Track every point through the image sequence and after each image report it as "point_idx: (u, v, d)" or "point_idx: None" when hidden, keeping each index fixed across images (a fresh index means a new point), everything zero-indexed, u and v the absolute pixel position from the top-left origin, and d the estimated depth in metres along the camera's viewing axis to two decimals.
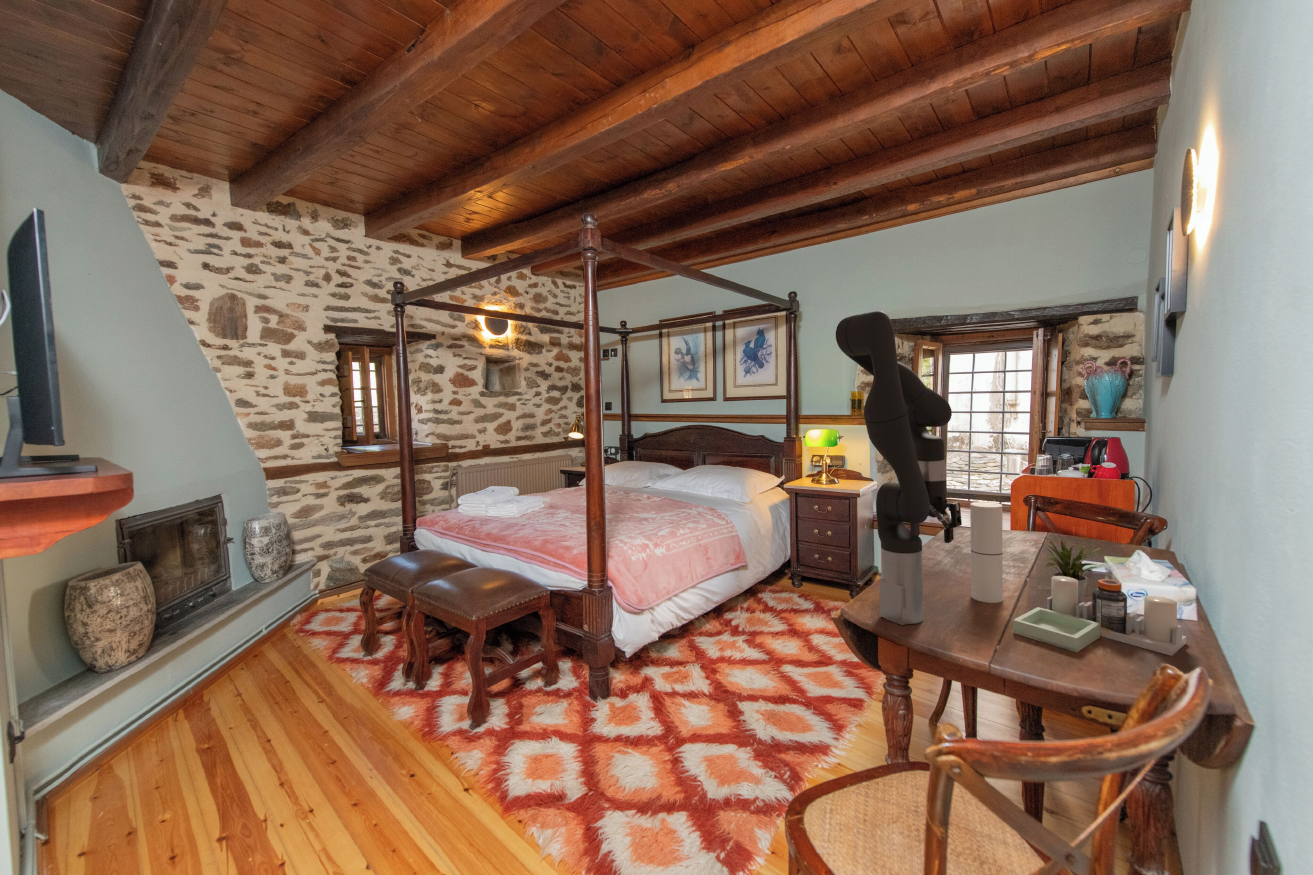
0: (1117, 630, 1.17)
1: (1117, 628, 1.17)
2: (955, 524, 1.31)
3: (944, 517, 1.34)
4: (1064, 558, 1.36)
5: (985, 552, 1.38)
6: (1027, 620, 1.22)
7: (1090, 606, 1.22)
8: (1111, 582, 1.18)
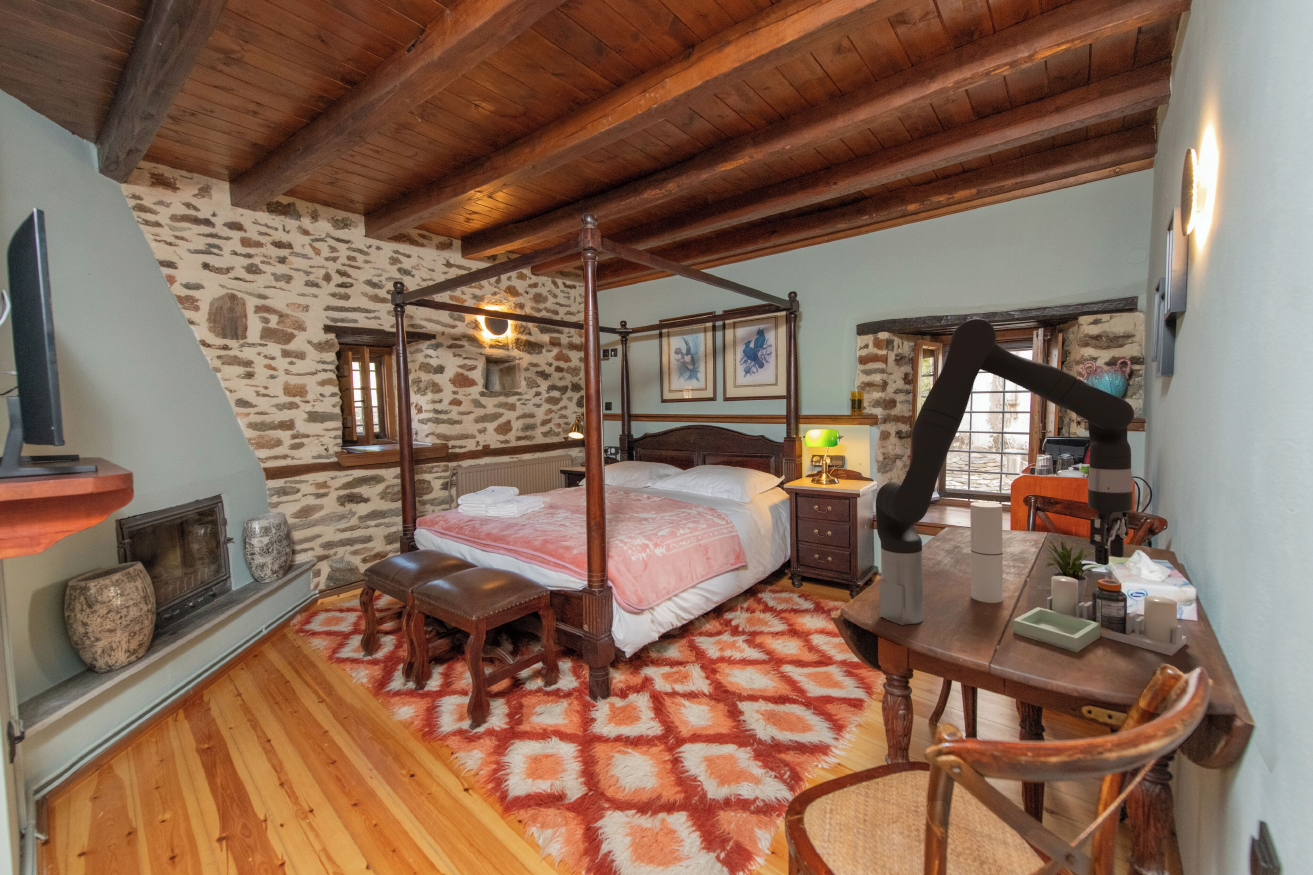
0: (1117, 630, 1.17)
1: (1117, 628, 1.17)
2: (1128, 532, 1.21)
3: None
4: (1064, 558, 1.36)
5: (985, 552, 1.38)
6: (1027, 620, 1.22)
7: (1090, 606, 1.22)
8: (1111, 582, 1.18)
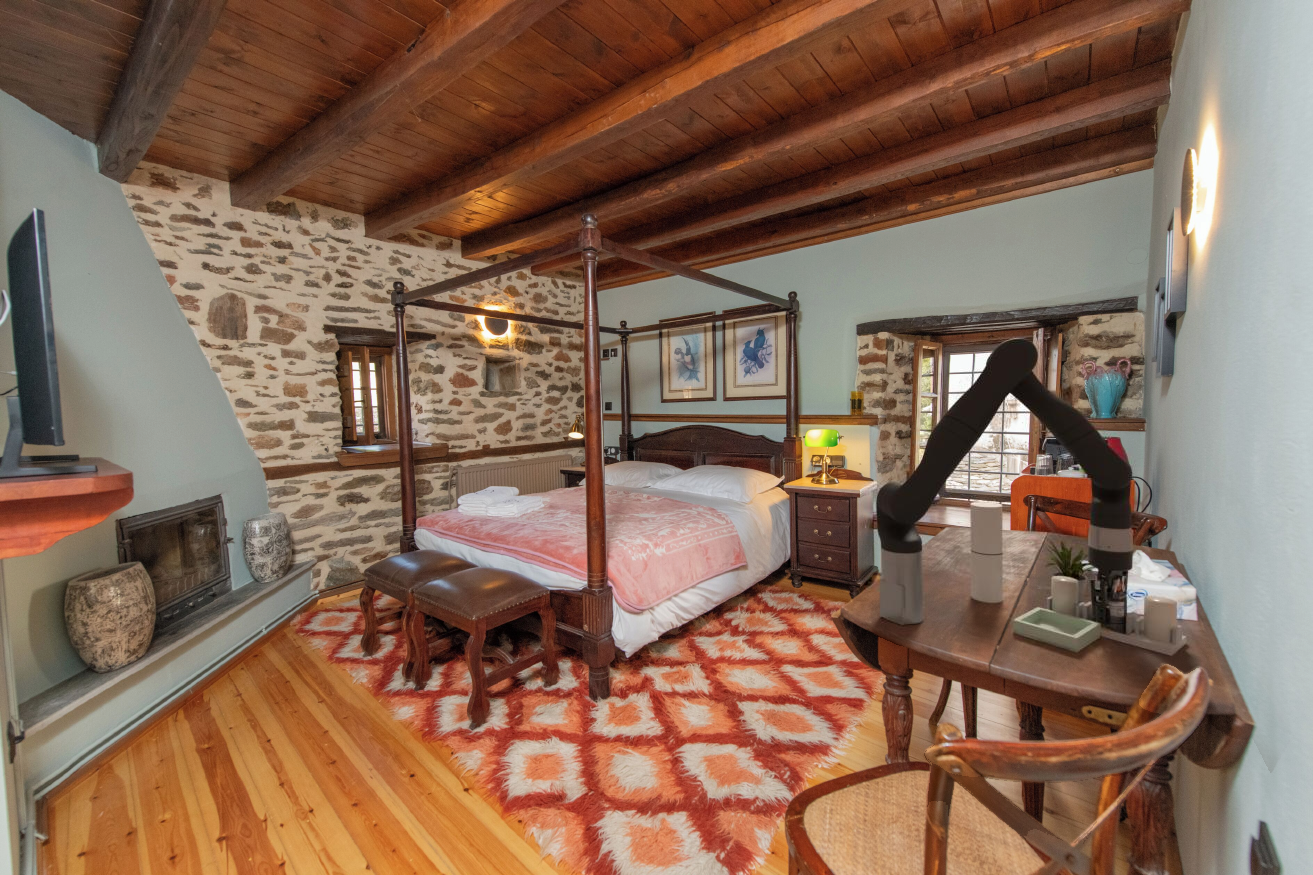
0: (1117, 630, 1.17)
1: (1117, 628, 1.17)
2: (1126, 591, 1.21)
3: None
4: (1064, 558, 1.36)
5: (985, 552, 1.38)
6: (1027, 620, 1.22)
7: (1090, 606, 1.22)
8: None
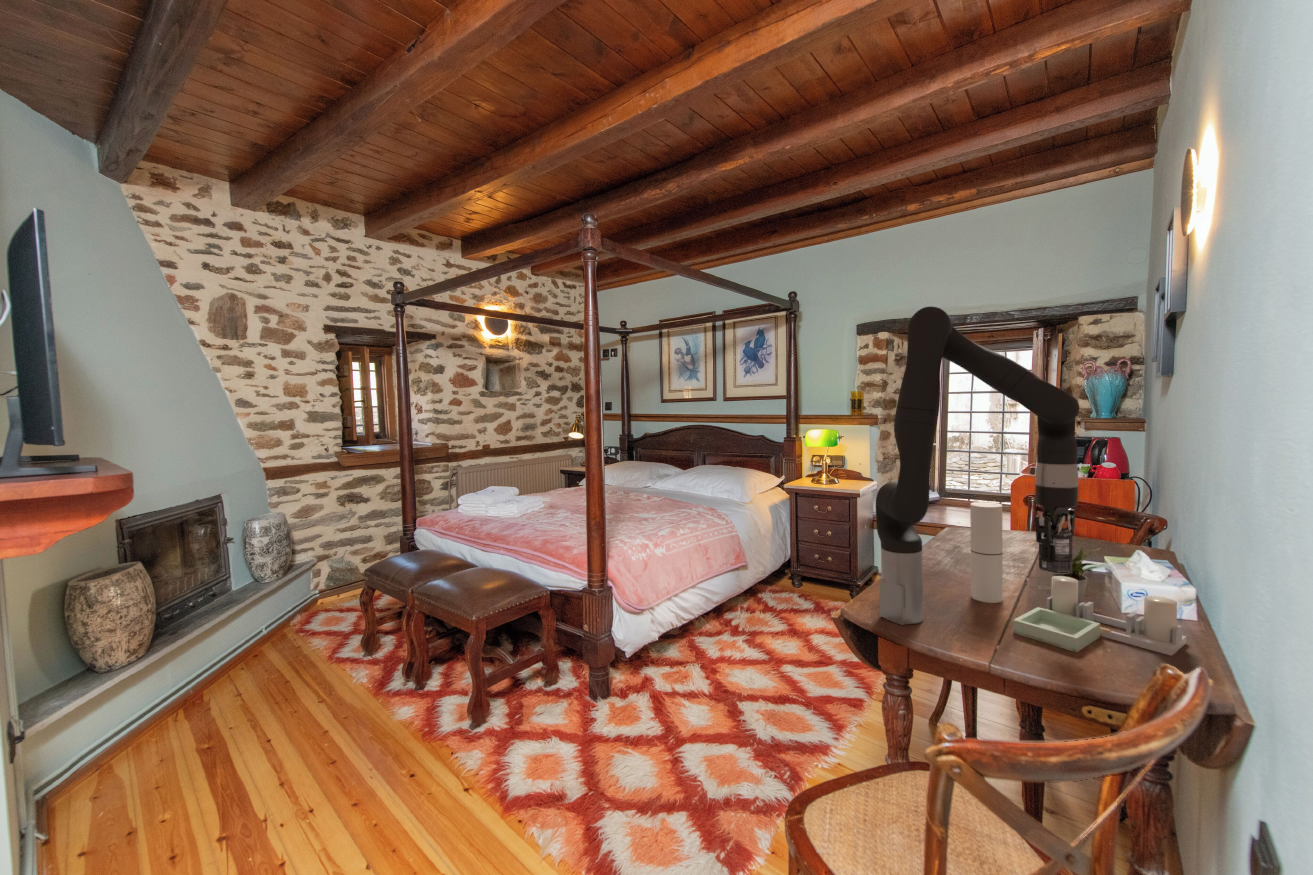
0: (1062, 568, 1.15)
1: (1062, 566, 1.15)
2: (1073, 532, 1.20)
3: None
4: None
5: (985, 552, 1.38)
6: (1027, 620, 1.22)
7: (1090, 606, 1.22)
8: None
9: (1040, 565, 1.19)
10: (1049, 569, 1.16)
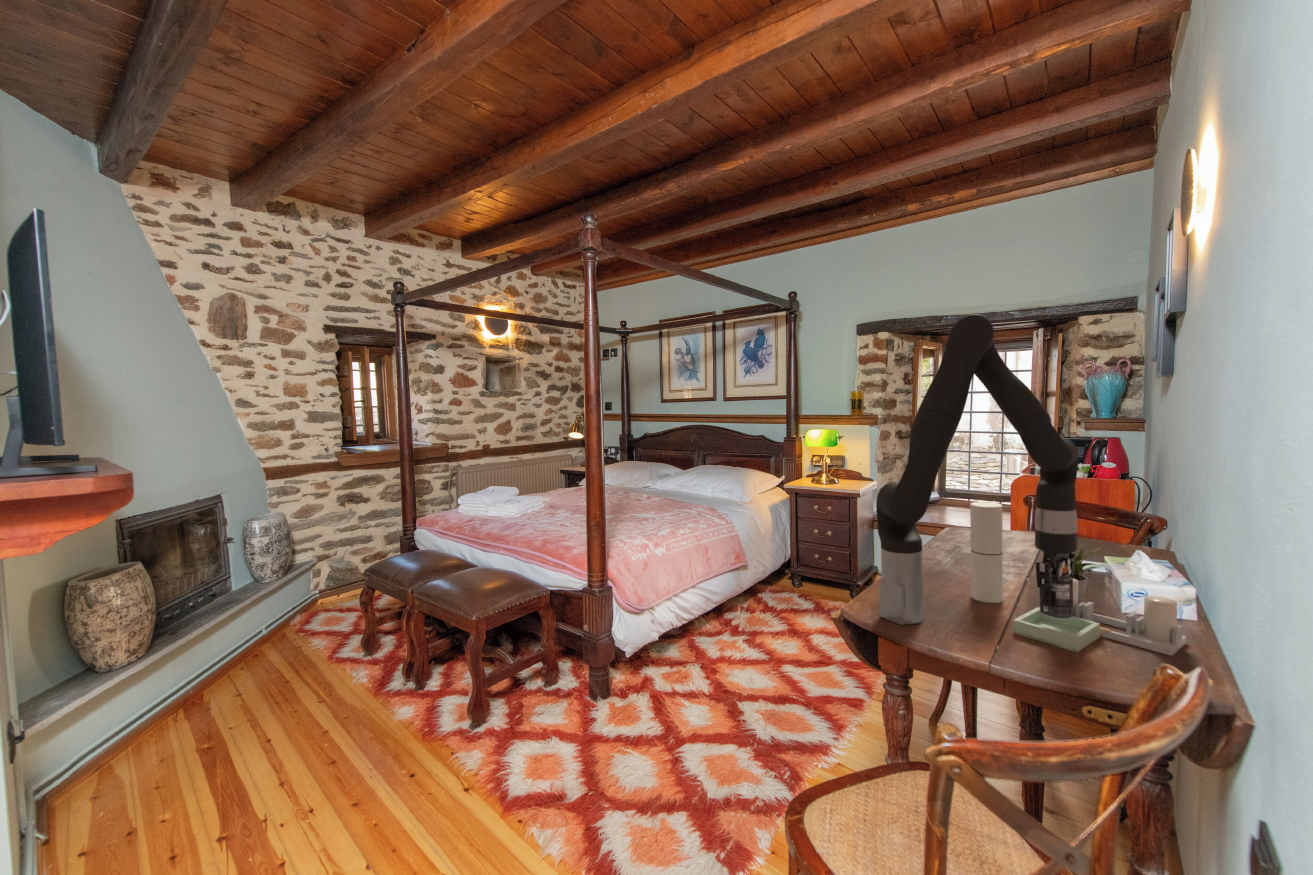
0: (1063, 613, 1.16)
1: (1063, 611, 1.16)
2: (1073, 574, 1.21)
3: None
4: None
5: (985, 552, 1.38)
6: (1027, 620, 1.22)
7: (1090, 606, 1.22)
8: None
9: (1041, 609, 1.19)
10: (1050, 613, 1.17)
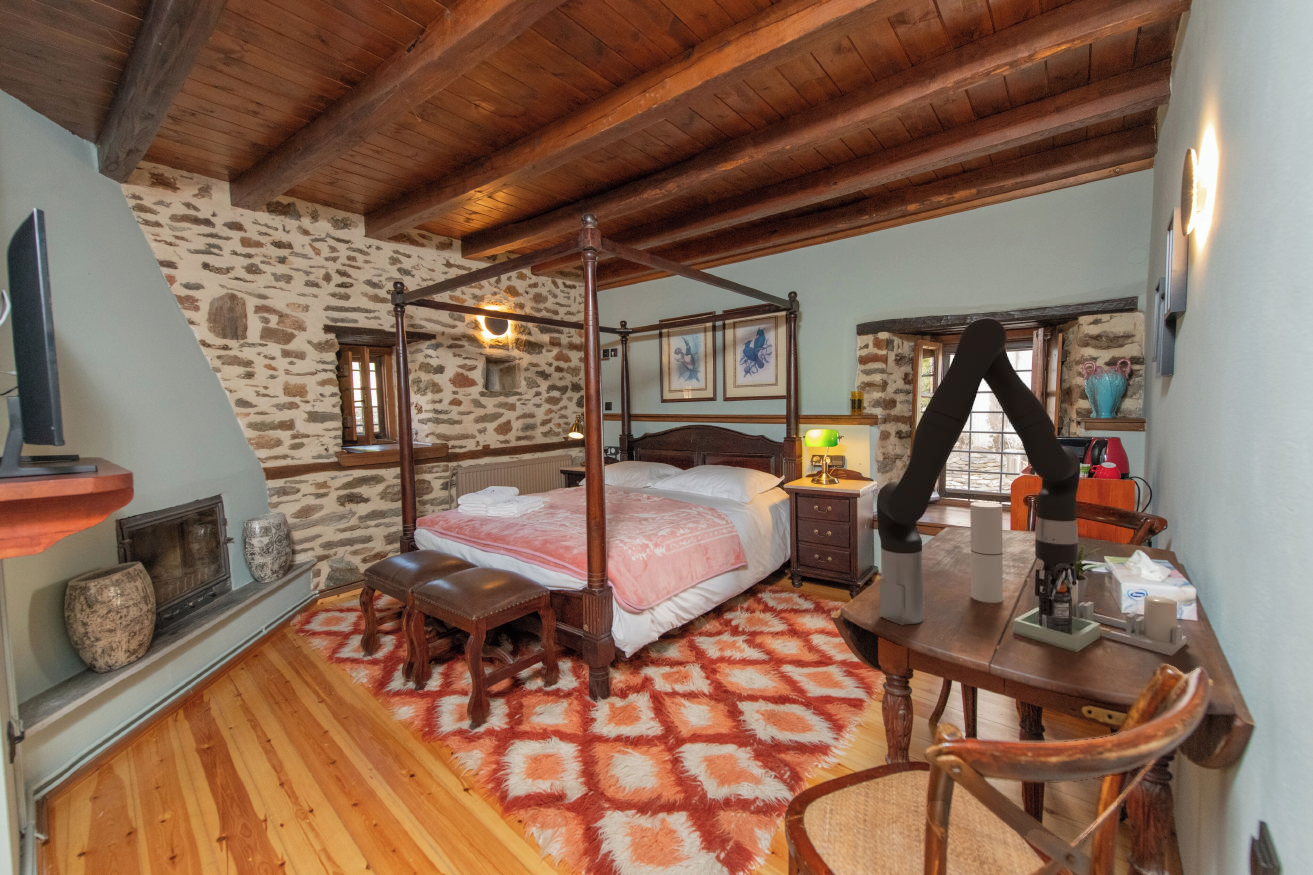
0: (1062, 631, 1.16)
1: (1062, 630, 1.16)
2: (1075, 581, 1.21)
3: None
4: None
5: (985, 552, 1.38)
6: (1027, 620, 1.22)
7: (1090, 606, 1.22)
8: None
9: None
10: None
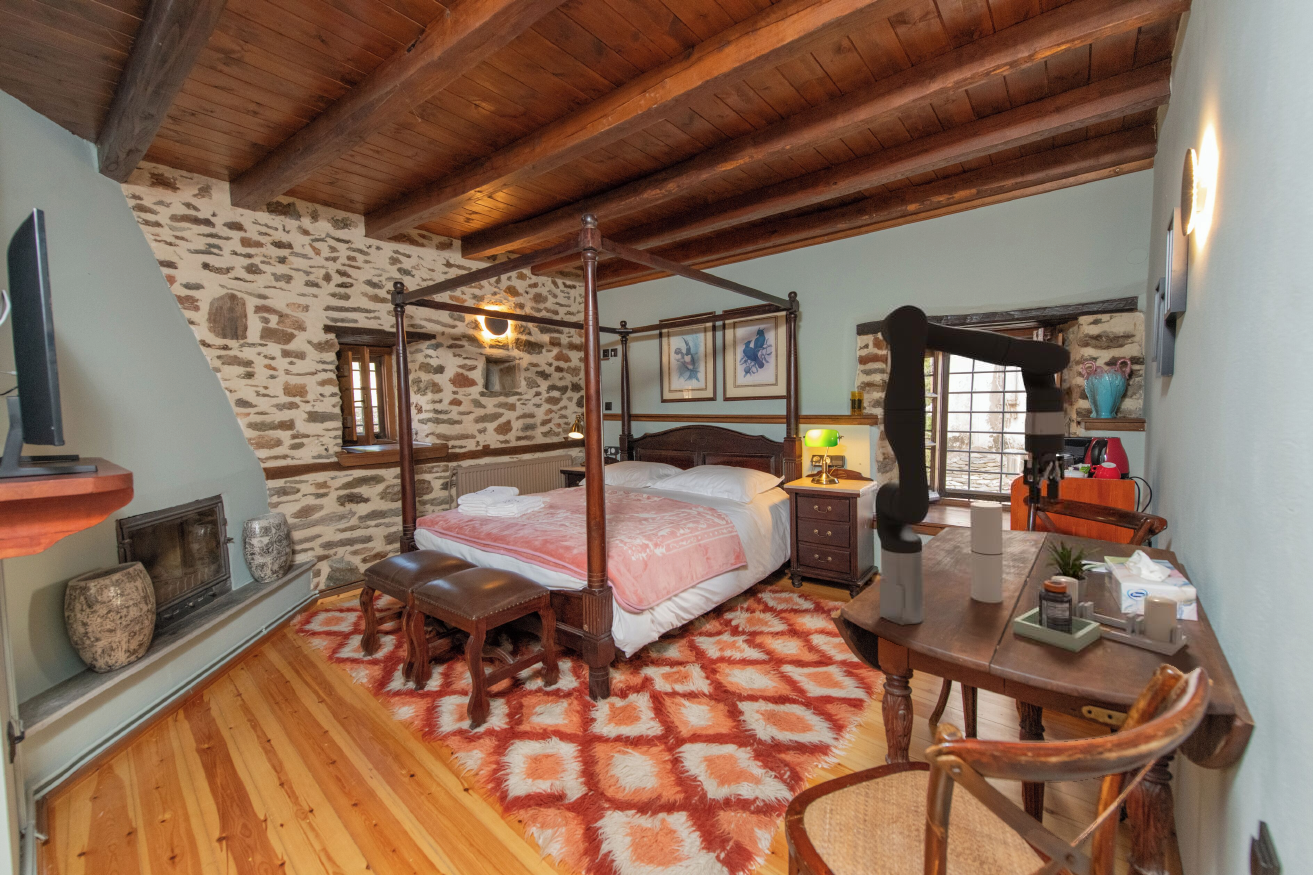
0: None
1: (1062, 630, 1.16)
2: (1064, 476, 1.26)
3: None
4: (1064, 558, 1.36)
5: (985, 552, 1.38)
6: (1027, 620, 1.22)
7: (1090, 606, 1.22)
8: (1056, 583, 1.17)
9: None
10: None
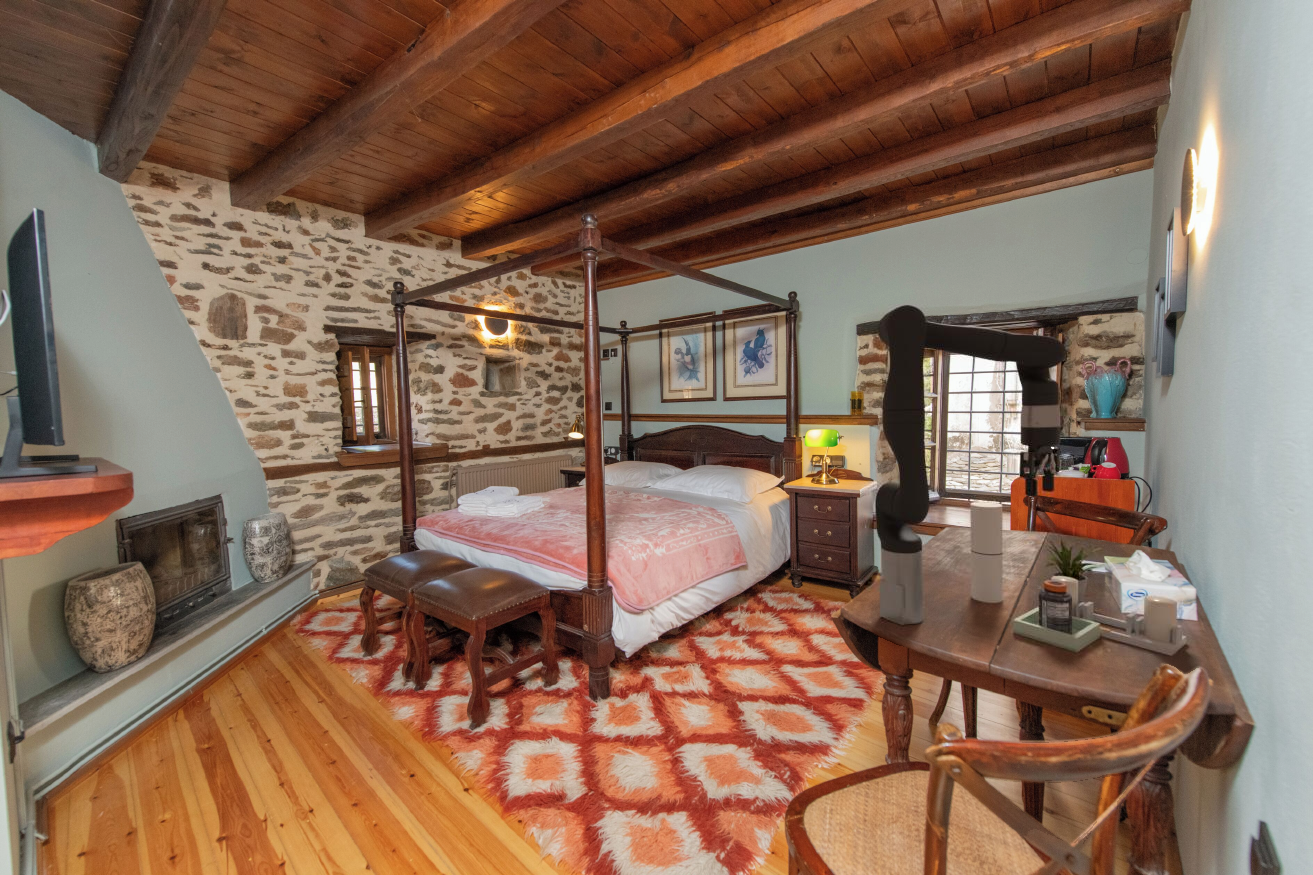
0: None
1: (1062, 630, 1.16)
2: None
3: None
4: (1064, 558, 1.36)
5: (985, 552, 1.38)
6: (1027, 620, 1.22)
7: (1090, 606, 1.22)
8: (1056, 583, 1.17)
9: None
10: None
